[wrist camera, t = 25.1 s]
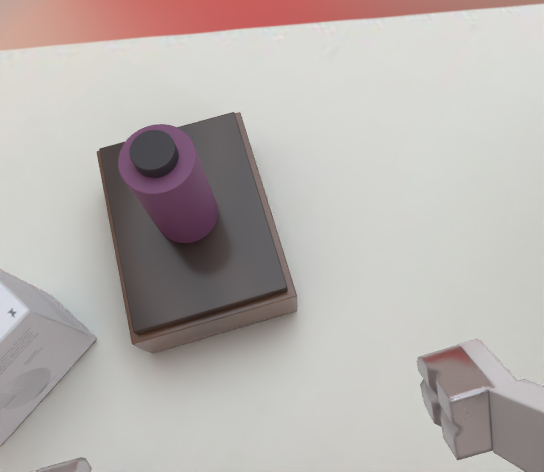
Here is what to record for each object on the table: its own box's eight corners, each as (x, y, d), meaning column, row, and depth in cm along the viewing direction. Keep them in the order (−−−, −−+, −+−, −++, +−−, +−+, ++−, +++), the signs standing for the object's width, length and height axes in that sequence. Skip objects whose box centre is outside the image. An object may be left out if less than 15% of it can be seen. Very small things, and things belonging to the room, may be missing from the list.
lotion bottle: (210, 179, 39) (182, 105, 30) (224, 233, 37) (200, 173, 28) (150, 195, 38) (105, 126, 29) (163, 251, 37) (119, 196, 28)
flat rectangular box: (246, 143, 46) (238, 104, 41) (297, 310, 41) (296, 292, 35) (117, 179, 46) (91, 144, 40) (151, 353, 40) (127, 342, 35)
